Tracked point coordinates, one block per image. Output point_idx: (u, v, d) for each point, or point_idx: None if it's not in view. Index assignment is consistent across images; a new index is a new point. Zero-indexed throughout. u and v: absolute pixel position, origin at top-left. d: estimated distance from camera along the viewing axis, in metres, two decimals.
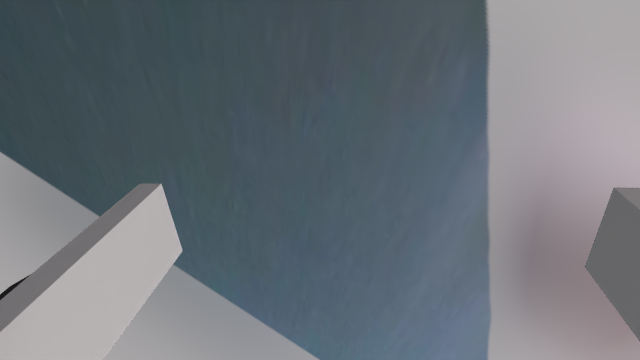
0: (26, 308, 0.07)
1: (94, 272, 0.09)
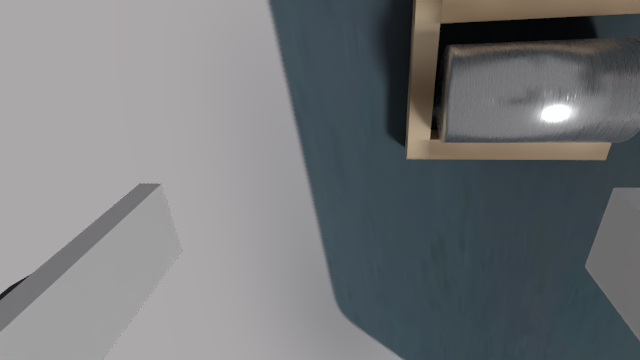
0: (26, 308, 0.07)
1: (94, 272, 0.09)
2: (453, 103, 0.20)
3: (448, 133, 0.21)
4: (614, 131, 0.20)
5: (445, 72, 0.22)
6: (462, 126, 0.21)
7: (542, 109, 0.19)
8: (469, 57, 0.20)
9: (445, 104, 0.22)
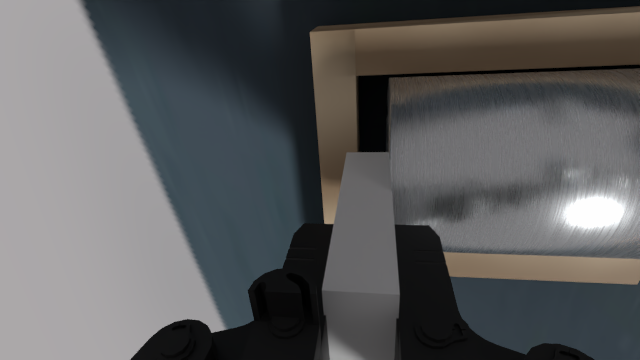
0: (363, 243, 0.08)
1: None
2: (392, 157, 0.10)
3: None
4: None
5: None
6: (416, 207, 0.10)
7: (579, 172, 0.09)
8: (420, 83, 0.11)
9: None
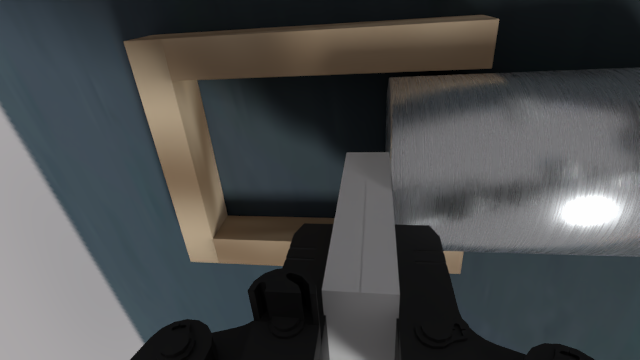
0: (363, 243, 0.08)
1: None
2: (393, 157, 0.10)
3: None
4: None
5: None
6: (417, 206, 0.10)
7: (578, 172, 0.09)
8: (420, 83, 0.11)
9: None
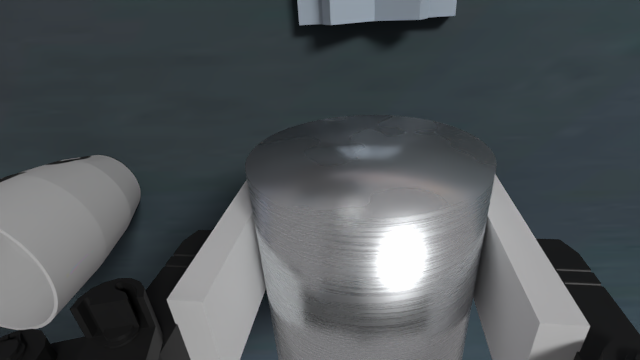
0: (230, 251, 0.08)
1: None
2: None
3: None
4: (384, 266, 0.07)
5: None
6: None
7: None
8: None
9: None
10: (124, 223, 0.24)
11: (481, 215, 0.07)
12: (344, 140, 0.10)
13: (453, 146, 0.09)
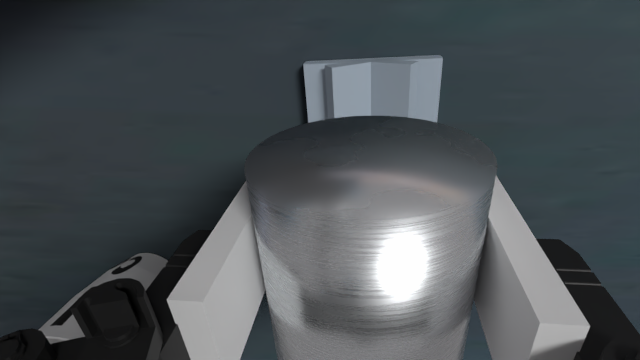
0: (230, 251, 0.08)
1: None
2: None
3: None
4: (384, 269, 0.07)
5: None
6: None
7: None
8: None
9: None
10: None
11: (482, 217, 0.07)
12: (343, 141, 0.10)
13: (454, 147, 0.09)
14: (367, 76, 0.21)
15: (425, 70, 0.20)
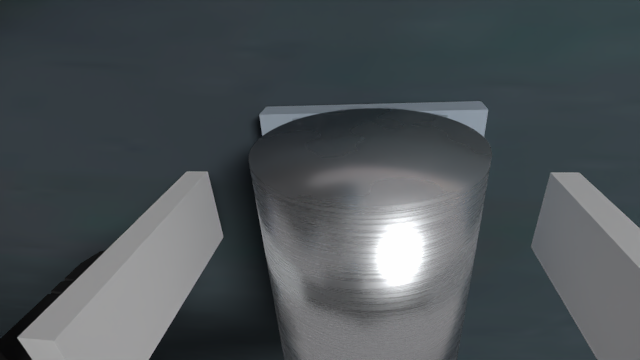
0: (109, 279, 0.08)
1: (158, 251, 0.09)
2: None
3: None
4: (384, 253, 0.07)
5: None
6: None
7: None
8: None
9: None
10: None
11: (477, 203, 0.08)
12: (344, 132, 0.10)
13: (450, 138, 0.09)
14: None
15: None
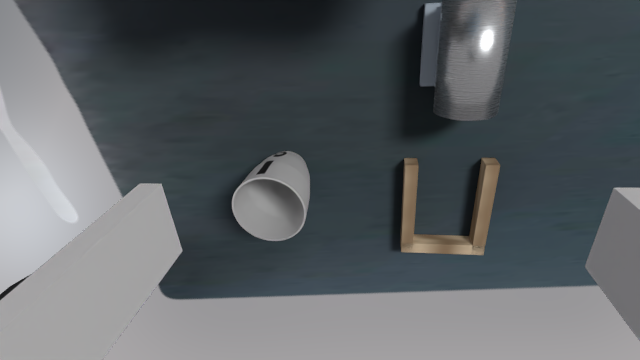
0: (26, 308, 0.07)
1: (94, 272, 0.09)
2: (454, 119, 0.34)
3: (477, 119, 0.33)
4: (491, 15, 0.29)
5: None
6: (471, 113, 0.33)
7: (465, 68, 0.31)
8: (435, 104, 0.35)
9: None
10: None
11: (514, 7, 0.29)
12: None
13: None
14: None
15: None
